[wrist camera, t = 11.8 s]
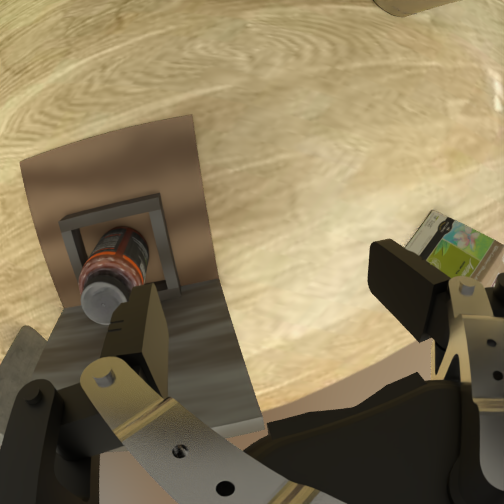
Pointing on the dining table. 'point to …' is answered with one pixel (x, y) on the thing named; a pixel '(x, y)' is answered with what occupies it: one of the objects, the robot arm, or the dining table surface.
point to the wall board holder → (159, 265)
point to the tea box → (458, 249)
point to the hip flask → (18, 370)
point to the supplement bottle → (112, 272)
